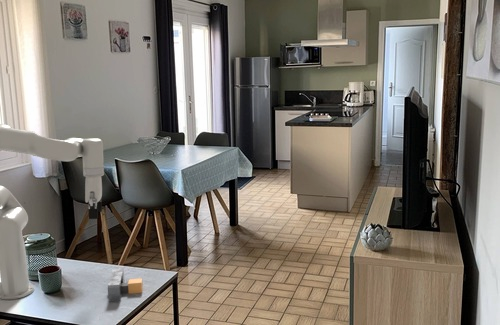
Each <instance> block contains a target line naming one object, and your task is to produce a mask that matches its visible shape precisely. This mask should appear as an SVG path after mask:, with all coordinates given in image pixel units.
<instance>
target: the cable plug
mask: <svg viewBox="0 0 500 325" xmlns="http://www.w3.org/2000/svg"><path fill="white" fill-rule="evenodd" d="M143 289H144V288H143V278H142V277H141V278H131V279H128V282H125V283H121V290H122V295H123V294H131V295H132V294H140V293H142V294H143V291H144V290H143ZM107 294H108V296H109V293H108V292H107Z"/></svg>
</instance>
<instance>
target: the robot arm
mask: <svg viewBox="0 0 500 325" xmlns="http://www.w3.org/2000/svg"><path fill="white" fill-rule="evenodd" d="M2 151H3V152H11V153H19V154H25V155H30V156H33V157H39V158H41V159H45V160H46V159H47V160H52V161H57V162H58V161H60V162H72V161H75V160H76V159H77V158H79V157H81V158H82V173H83V177H85V182H84V183H85V184H84V185H85V186H84V190H85V191H84V193H85V194H84V195H85V196H84V198H85V199H84V201H85V203H88V219H89V220H96V219H97V220H98V218H99V214H98V213H101V212H102V211H103V205H102V204H103V202H102V196H103V182H102V177H103V176H104V175H105V168H104V167H105V166H104V165H105V164H104V163H105V162H104V143H103V140H102V139H100V138H94V137H93V138H92V137H91V138H90V137H89V138H78V137H69V138H66V139H64V140H62V139H61V140H60V139H54V138H49V137H45V136H42V135H41V134H39V133H37V132H35V131H31V130H27V129H25V130H24V129H18V128H12V127H11V126H10V125H7V124H5V123H4V124H3V123H1V124H0V152H2ZM28 223H29V215H28V213H27V211H26V209H25V208H24V207H23V206H22V205H21V203H20V202H19V201H18V200H17V198H16V197H15V196H14V194H13V193H12V192H11V191H10V190H9V189H8V188H7V187H5V186H3V185H0V300H8V301H9V300H16V299H21V298H23V297H27V296H29V295H30V294H32V293H34V291H35V286H34V284H32V283H30V280H29V270H28V261H27V253H26V244H25V239H24V236H23V229H24V228H26V226H27V224H28Z"/></svg>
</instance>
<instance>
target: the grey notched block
mask: <svg viewBox="0 0 500 325" xmlns="http://www.w3.org/2000/svg"><path fill="white" fill-rule="evenodd" d="M124 270H125V268H124V267H116V268H115V267H113V268H112V270H111V273H110V277H109V280H108V284H107V294H108V293H109V295H108V302H109V303H117V302H121V301H122V297H123V294H122V290H121V283H126V282H125V272H124Z"/></svg>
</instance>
